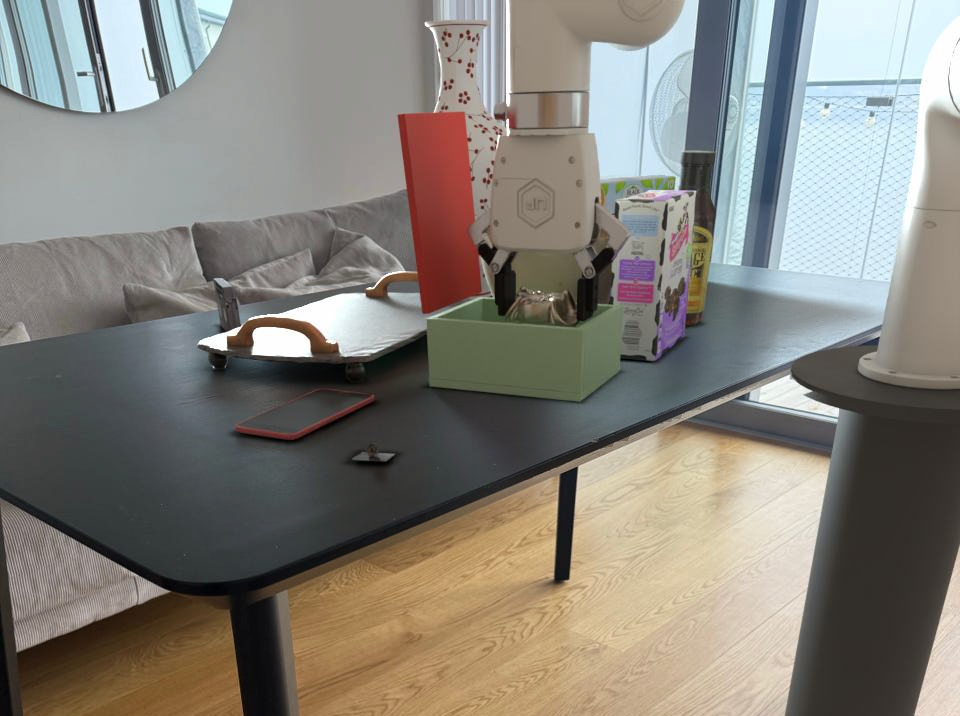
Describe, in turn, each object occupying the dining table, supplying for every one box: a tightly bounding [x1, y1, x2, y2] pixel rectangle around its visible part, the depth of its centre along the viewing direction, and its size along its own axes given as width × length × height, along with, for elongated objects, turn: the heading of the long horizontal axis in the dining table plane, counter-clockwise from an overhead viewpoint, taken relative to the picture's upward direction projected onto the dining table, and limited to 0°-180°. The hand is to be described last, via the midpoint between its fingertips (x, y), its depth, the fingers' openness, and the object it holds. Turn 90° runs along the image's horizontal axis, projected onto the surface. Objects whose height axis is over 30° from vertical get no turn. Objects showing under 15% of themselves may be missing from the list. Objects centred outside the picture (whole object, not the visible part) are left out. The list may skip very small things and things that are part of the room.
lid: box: [396, 112, 482, 314], centre depth 91 cm, size 17×13×1 cm
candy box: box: [610, 189, 696, 362], centre depth 103 cm, size 14×6×16 cm, turn 155°
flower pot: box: [481, 228, 612, 305], centre depth 111 cm, size 18×18×12 cm
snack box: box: [600, 174, 677, 216], centre depth 144 cm, size 21×6×15 cm, turn 132°
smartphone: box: [234, 388, 375, 441], centre depth 86 cm, size 7×1×14 cm
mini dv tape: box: [212, 277, 242, 332], centre depth 120 cm, size 8×2×6 cm, turn 23°
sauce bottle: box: [677, 150, 717, 327], centre depth 114 cm, size 6×6×20 cm
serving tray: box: [196, 270, 473, 384], centre depth 110 cm, size 39×23×6 cm, turn 156°
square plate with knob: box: [351, 442, 396, 463], centre depth 75 cm, size 3×3×1 cm
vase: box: [424, 19, 508, 299], centre depth 131 cm, size 16×16×35 cm
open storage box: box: [426, 297, 623, 403], centre depth 94 cm, size 17×13×7 cm
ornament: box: [505, 286, 579, 327], centre depth 92 cm, size 8×7×4 cm
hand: (545, 315), depth 92 cm, fingers closed on ornament, 8 cm apart
